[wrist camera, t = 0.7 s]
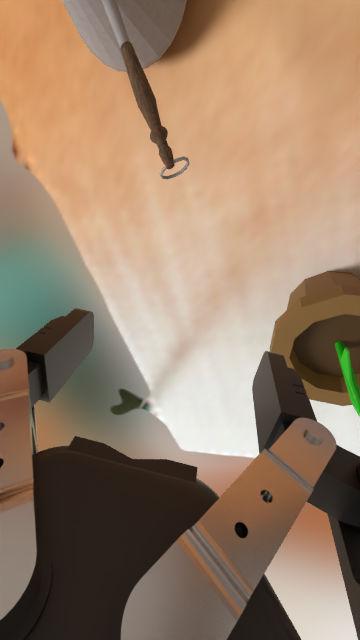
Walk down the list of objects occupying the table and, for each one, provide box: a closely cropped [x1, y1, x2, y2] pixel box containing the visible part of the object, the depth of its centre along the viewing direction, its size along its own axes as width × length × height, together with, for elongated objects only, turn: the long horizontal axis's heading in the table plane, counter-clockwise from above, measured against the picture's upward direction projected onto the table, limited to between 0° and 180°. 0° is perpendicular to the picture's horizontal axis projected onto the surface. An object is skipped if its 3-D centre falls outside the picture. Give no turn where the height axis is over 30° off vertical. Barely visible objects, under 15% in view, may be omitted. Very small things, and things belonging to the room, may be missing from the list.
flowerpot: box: [270, 271, 360, 416], centre depth 23 cm, size 14×14×30 cm
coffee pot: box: [62, 0, 189, 179], centre depth 21 cm, size 21×12×15 cm, turn 33°
